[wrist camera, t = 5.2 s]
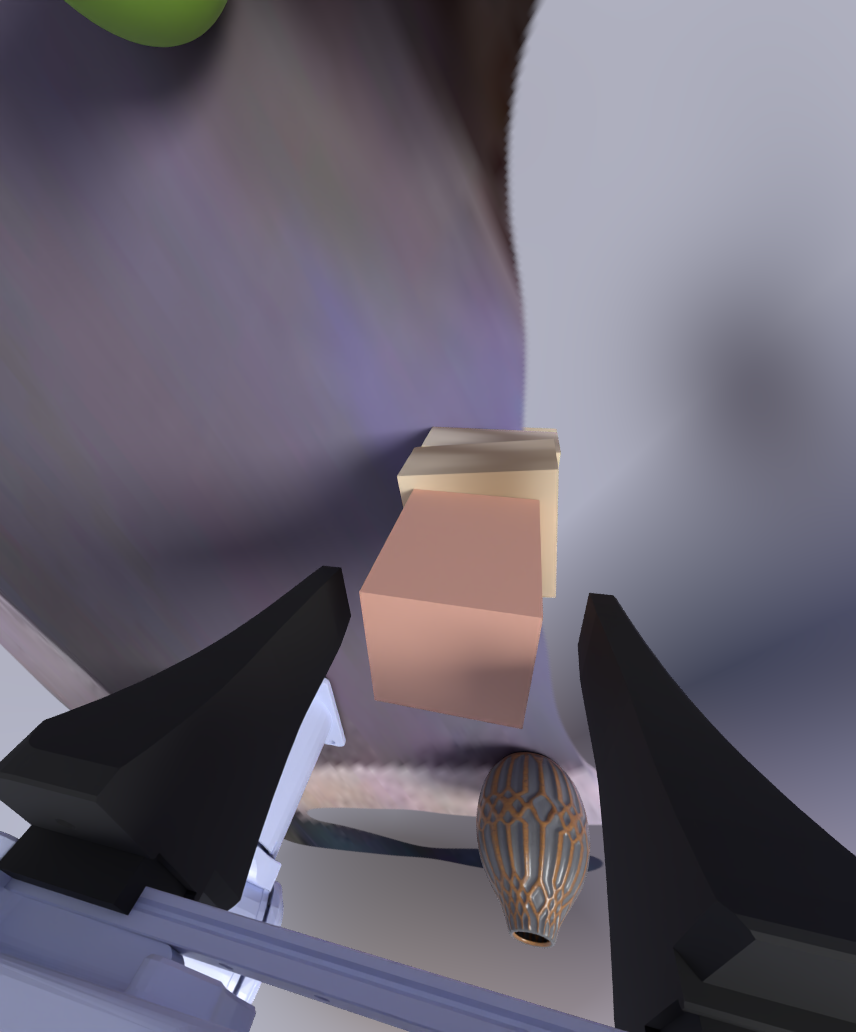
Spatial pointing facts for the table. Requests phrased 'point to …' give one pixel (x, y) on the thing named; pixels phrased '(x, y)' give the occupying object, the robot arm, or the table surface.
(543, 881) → the vase
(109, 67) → the table surface
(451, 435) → the tower base
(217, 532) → the table surface
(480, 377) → the table surface
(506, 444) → the tower top
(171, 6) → the snail figurine
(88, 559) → the table surface
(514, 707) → the block
